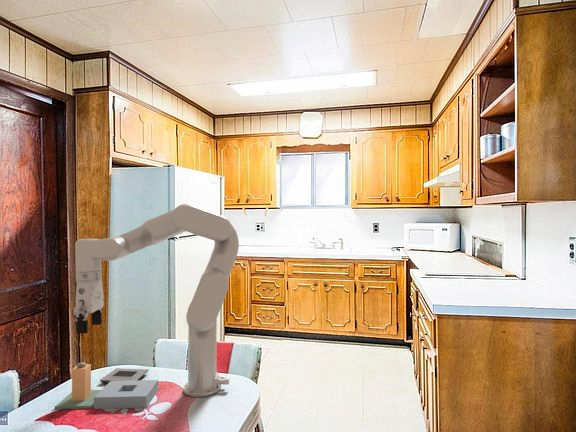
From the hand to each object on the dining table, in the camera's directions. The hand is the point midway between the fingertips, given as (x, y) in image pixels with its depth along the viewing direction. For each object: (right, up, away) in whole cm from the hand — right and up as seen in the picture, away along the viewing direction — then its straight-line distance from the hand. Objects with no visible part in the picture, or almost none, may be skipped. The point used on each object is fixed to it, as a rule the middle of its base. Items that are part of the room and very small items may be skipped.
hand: (89, 328), depth 122 cm
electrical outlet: (+5, -24, +15) cm, 28 cm away
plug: (-2, -22, -1) cm, 22 cm away
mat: (-2, -23, -1) cm, 23 cm away
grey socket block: (+13, -23, -1) cm, 26 cm away
